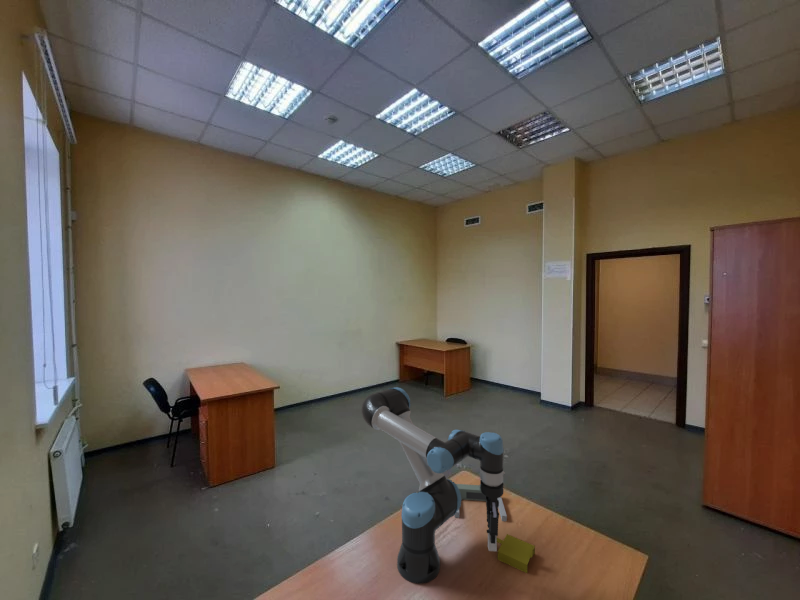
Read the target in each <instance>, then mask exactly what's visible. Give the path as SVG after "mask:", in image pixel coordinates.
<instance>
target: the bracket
mask: <svg viewBox="0 0 800 600" xmlns="http://www.w3.org/2000/svg"><path fill="white" fill-rule="evenodd" d="M498 543H499V544H500V546H499V548H498V549H497V560H498V561H500V562H502V563H504V564H506V565H509V566H510V567H512V568H515V569H517V570H519V571H521V572H523V573H525V574H528V564H529V561H530V558H533V556H535V555H536V551H535V550H536V545H533V544H531V543H529V542H528V541H525V540H522V539H520V538H517V537H515V536H512V535H510V534H508V533H506V535H505V537H504V538H503V539H501V538H499V537H497V544H498Z"/></svg>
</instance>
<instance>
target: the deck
mask: <svg viewBox="0 0 800 600" xmlns="http://www.w3.org/2000/svg"><path fill="white" fill-rule="evenodd" d="M455 484H456V485H457V487H458V488H459V491H460V494H461V500H463V501H464V500H465V501H481V502H486V499H485V495H484V494H482V492H481V489H480V484H465V483H455ZM497 500H499V506H498V512H499V517H500V519H501V522H506V521H508V520H507V519H508V516H507V512H506V509H505V508H506V507H505V505H504V502H503V498H502V496H501V497H499V498H497ZM454 518H458V519H460V509H459V510H458V511H457V512H456V513H455V515H454Z"/></svg>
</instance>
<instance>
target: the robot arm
mask: <svg viewBox="0 0 800 600" xmlns="http://www.w3.org/2000/svg"><path fill="white" fill-rule="evenodd" d="M410 408H411V399H410V396H409V394H408V393H407V392H406V390H404V388H401V387H397V386H396V387H389V388H387V389H384V390H381V391H378V392H373V393H372V394H369V395H368V396H366V397H365V399H364V400H363V402H362V405H361V416H362V418H363V421H365V423H366V424H367V425H369V427H370V428H372V429H374V430H375V431H380V430H381V431H382V432H384V433H385V434H387V435H389V436H390V437H392V438H393V439H395V440H396V441H398V443H399V444H400V446H401V448H402V450H403V452H404V454H405V456H406V458H407V460H408V462H409V464H410V467H411V468H412V470H413V473H414V474H415V477H416V479H417V480H418V482H419V488H418V492H413V493H411V494H409V495H407V496H406V497H405V498H404V501H403V503H402V506H401V507H402V508H401V540H402V541H401V545H400V549H399V551H398V554H397V558H396V560H397V563H396V565H397V566H396V567H397V571H398V573H399V574H400V576H401V577H402V578H403V579H405V581H407V582H410V583H413V584H426V583H430V582H432V581H433V580H434V579H435V578H436V577H437V576H438V574H439V573H440V568H441V567H440V566H441V561H440V560H441V558H440V556H439V553H438V549H437V547H436V535H435V534H436V530H438V529H439V528H440V527H442V526H443V525H444V524H445V523H446V522H447V521H448V520H450V519H451V518H452V517H455V513H456V512H457V511H458V510H459V511H460V508H461V506H462V499H461V494H460V491H459V488H458V487H457V485H456V484H457V483H455V481H452V479H448V478H447V477H446V475H445V474H444V473H445V472H447V471H450V470H451V469H452V468H454V466H456V465H457V464H458V463H460V462H461V461H463V460H465V459H466V458H472V459H475V460H478V461H479V462H480V463H479V478H480V484H479V485H480V489H481V492H482V494H484V495H485V499H486V501H485V506H486V522H487V529H486V534H487V548H488V552H498V549H497V548H498V542H497V538H498V536H499V517H500V512H499V508H498V506H499V500H497V498H499V497H501V498H502V497H503V495H504V475H505V474H506V472H505V471H504V442H503V437H502V436H501V435H500V434H498V433H496V432H490V431H485V432H483V433H482V432H481V434H480V436H479V435H476V434H474V433H471V432H467V431H465V430H463V429H462V430H460V429H453V430H452V431H451V432H450V434H449V435H448V438H447V440H446V441H444V440H441V439H439V438H438V437H435V436H434V435H432V434H431V433H429V432H427V431H425V430H424V429H422V428H420V427H418V426H416V425H415V424H414V423H413V420H412V418H411V413H412V411H411V409H410Z"/></svg>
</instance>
